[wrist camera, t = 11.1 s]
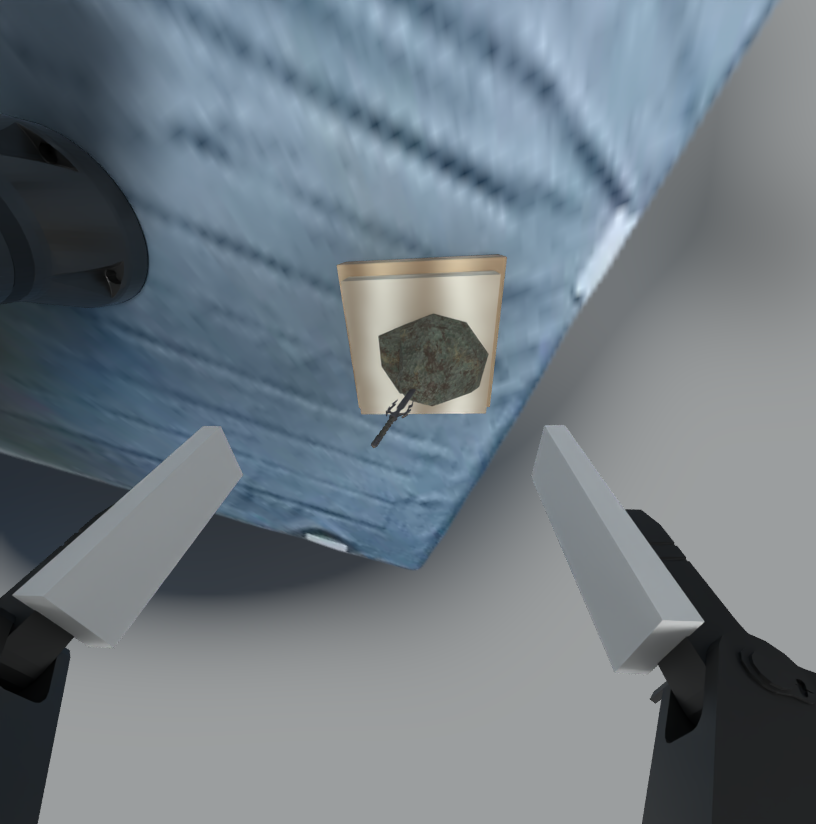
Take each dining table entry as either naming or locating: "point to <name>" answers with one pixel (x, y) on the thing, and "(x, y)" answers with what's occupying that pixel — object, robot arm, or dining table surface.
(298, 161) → the dining table surface
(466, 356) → the sword in stone
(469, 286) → the stacked beige slabs
